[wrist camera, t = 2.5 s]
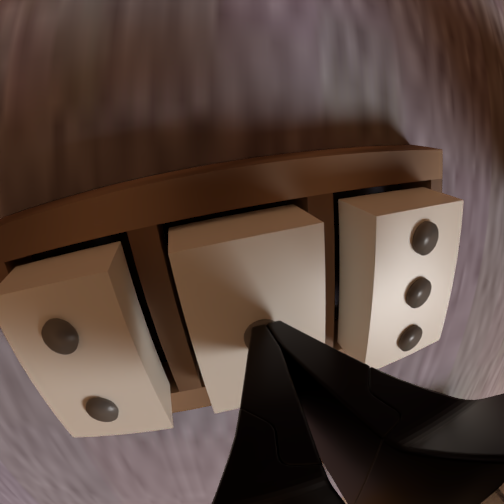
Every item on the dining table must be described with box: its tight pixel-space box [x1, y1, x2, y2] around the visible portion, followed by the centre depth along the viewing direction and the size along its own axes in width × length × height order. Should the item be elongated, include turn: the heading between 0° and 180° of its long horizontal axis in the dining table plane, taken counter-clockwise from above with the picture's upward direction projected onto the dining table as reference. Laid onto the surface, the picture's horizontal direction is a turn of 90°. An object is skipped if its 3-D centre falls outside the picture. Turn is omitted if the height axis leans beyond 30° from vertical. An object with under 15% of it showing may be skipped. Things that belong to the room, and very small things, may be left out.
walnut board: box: [0, 145, 442, 413], centre depth 11 cm, size 17×9×2 cm, turn 97°
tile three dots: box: [337, 187, 464, 369], centre depth 10 cm, size 4×6×2 cm, turn 6°
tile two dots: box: [0, 241, 173, 437], centre depth 8 cm, size 4×6×2 cm, turn 6°
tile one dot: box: [168, 204, 325, 413], centre depth 10 cm, size 4×6×2 cm, turn 6°
